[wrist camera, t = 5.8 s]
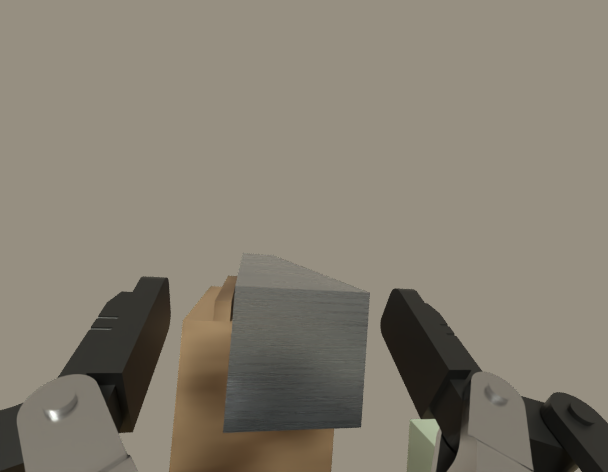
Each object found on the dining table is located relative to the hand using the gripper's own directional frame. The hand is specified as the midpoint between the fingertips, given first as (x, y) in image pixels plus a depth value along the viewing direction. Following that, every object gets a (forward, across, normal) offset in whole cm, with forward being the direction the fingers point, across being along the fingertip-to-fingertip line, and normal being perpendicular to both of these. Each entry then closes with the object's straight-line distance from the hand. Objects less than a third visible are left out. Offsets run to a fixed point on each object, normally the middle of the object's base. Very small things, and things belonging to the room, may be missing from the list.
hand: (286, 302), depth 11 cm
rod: (+6, 0, -6) cm, 8 cm away
